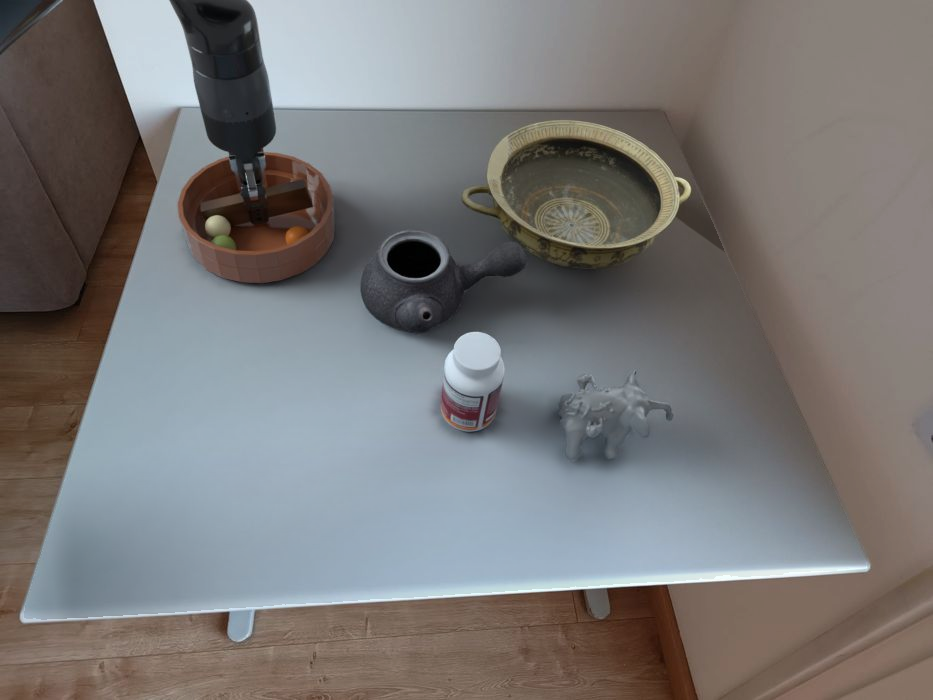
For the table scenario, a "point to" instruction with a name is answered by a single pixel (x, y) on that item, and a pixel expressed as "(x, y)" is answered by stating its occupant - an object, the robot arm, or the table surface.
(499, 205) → the ceramic bowl
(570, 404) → the gray elephant figurine
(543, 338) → the table surface
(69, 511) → the table surface
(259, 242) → the bowl
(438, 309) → the teapot
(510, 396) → the table surface
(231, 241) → the ball olive
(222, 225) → the ball cream
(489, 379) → the pill bottle
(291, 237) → the ball orange
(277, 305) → the table surface
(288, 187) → the stick
